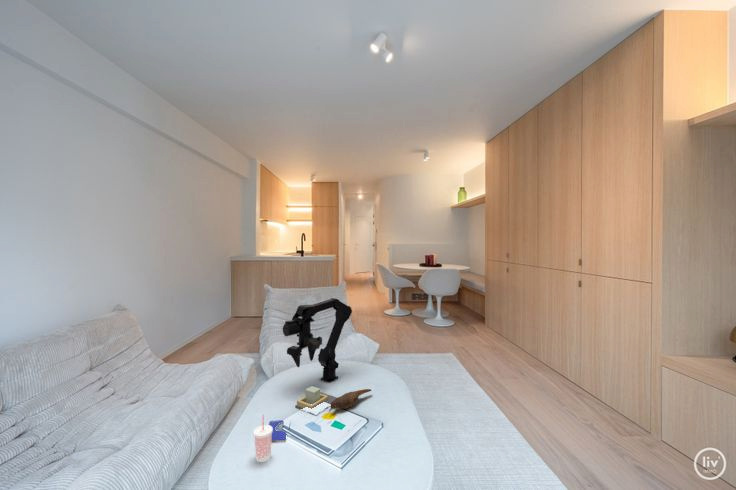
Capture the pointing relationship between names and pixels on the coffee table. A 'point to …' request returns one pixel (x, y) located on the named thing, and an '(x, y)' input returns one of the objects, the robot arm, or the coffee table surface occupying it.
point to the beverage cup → (263, 441)
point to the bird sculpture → (347, 399)
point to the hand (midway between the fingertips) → (305, 363)
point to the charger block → (312, 395)
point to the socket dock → (323, 398)
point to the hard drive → (277, 433)
